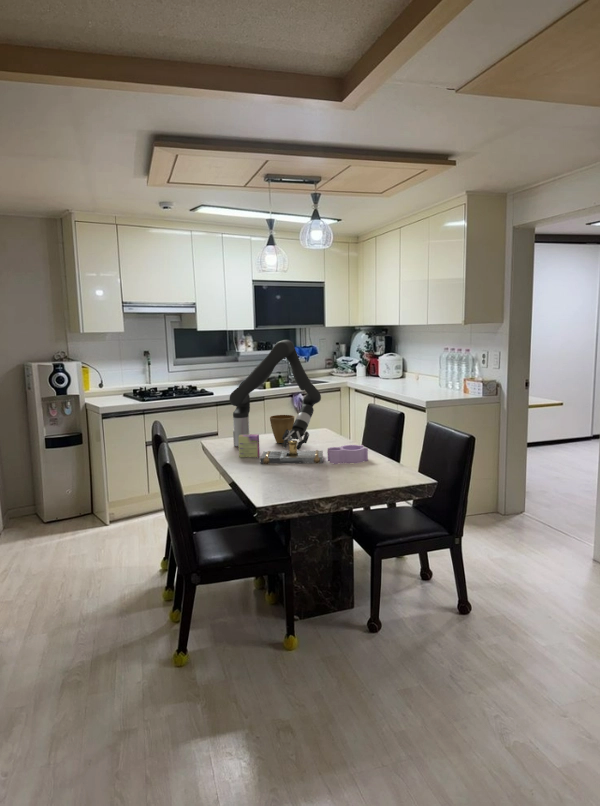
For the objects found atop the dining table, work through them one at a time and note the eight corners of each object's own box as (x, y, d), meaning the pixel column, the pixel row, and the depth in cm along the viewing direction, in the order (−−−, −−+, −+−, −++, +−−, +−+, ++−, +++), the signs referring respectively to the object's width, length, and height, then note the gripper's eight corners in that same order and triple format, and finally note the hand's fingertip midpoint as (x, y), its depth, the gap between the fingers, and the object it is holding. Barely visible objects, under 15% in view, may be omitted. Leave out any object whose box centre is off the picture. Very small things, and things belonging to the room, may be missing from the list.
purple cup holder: (332, 465, 260) (332, 452, 259) (325, 459, 272) (325, 446, 271) (369, 462, 264) (369, 449, 263) (361, 456, 276) (361, 443, 275)
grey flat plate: (260, 464, 266) (260, 458, 265) (263, 456, 281) (263, 450, 280) (322, 463, 264) (322, 457, 264) (322, 455, 279) (322, 450, 279)
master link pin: (288, 461, 270) (287, 442, 269) (289, 458, 275) (288, 440, 274) (297, 460, 270) (297, 442, 269) (298, 458, 275) (297, 440, 273)
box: (259, 454, 285) (259, 433, 283) (258, 457, 279) (257, 436, 277) (241, 455, 286) (240, 434, 284) (239, 457, 280) (238, 436, 278)
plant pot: (295, 445, 305) (294, 418, 302) (269, 445, 305) (268, 419, 303) (295, 439, 320) (294, 414, 317) (271, 440, 320) (270, 414, 317)
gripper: (287, 417, 279) (276, 442, 272) (310, 419, 272) (299, 445, 264) (293, 425, 285) (282, 450, 277) (315, 427, 277) (305, 453, 269)
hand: (290, 448), depth 270 cm, fingers open, 8 cm apart
